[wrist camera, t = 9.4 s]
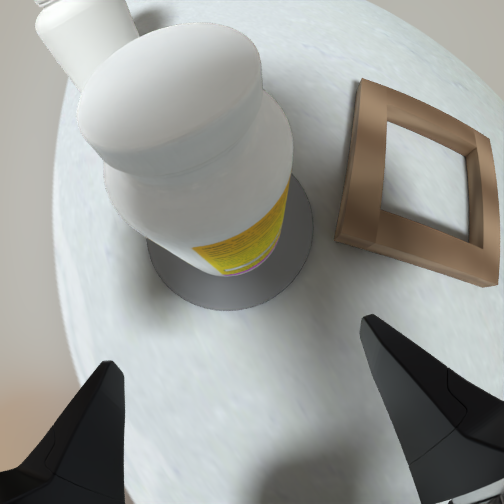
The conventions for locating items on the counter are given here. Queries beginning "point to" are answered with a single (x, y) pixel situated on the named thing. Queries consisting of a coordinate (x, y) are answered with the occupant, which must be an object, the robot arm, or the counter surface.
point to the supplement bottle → (192, 144)
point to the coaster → (253, 282)
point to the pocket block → (402, 229)
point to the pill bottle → (84, 33)
